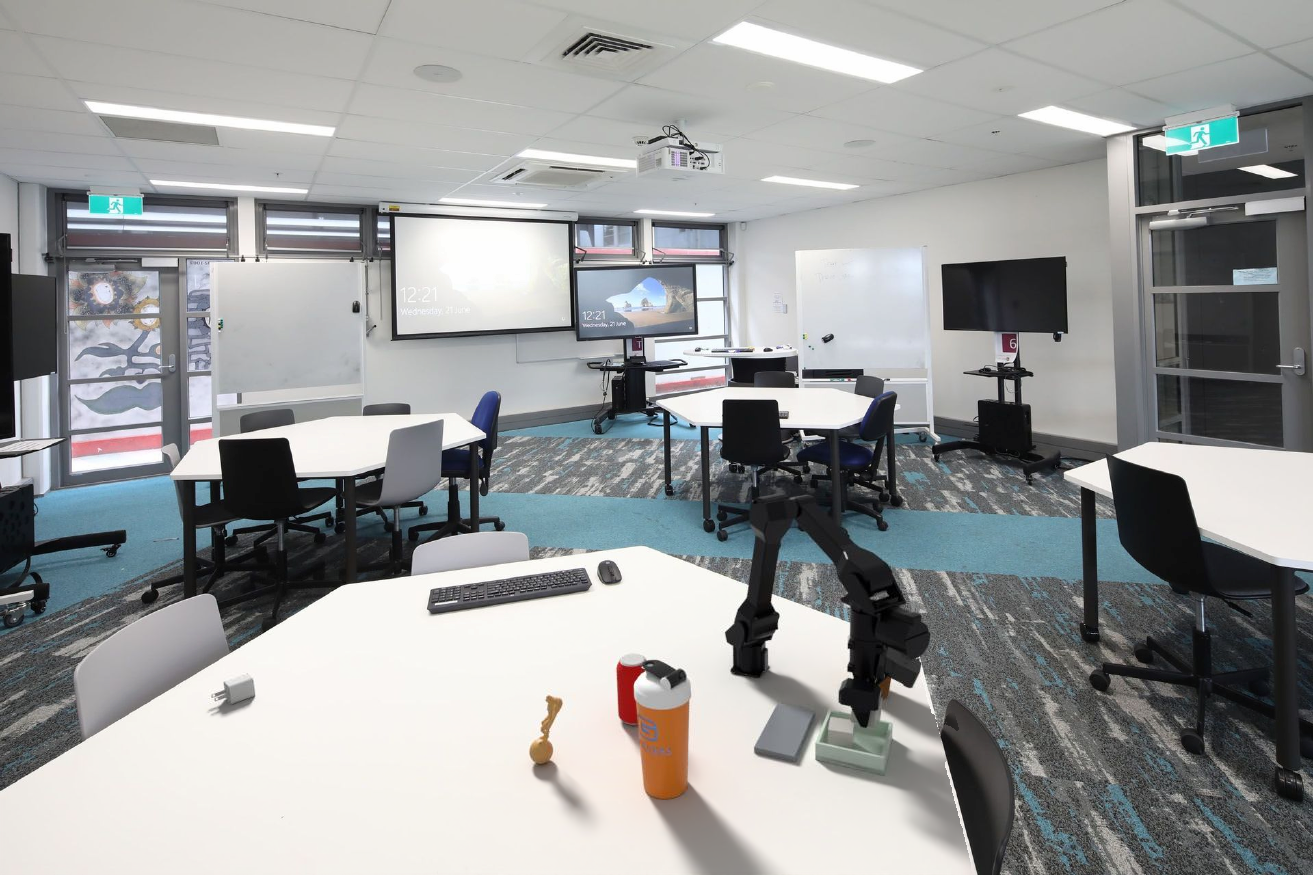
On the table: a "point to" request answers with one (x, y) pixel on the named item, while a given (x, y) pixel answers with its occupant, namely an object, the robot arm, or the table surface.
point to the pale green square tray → (857, 746)
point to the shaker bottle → (663, 728)
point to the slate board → (784, 732)
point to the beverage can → (628, 686)
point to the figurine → (545, 733)
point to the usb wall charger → (237, 689)
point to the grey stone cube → (871, 717)
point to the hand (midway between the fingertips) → (865, 719)
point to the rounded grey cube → (841, 732)
